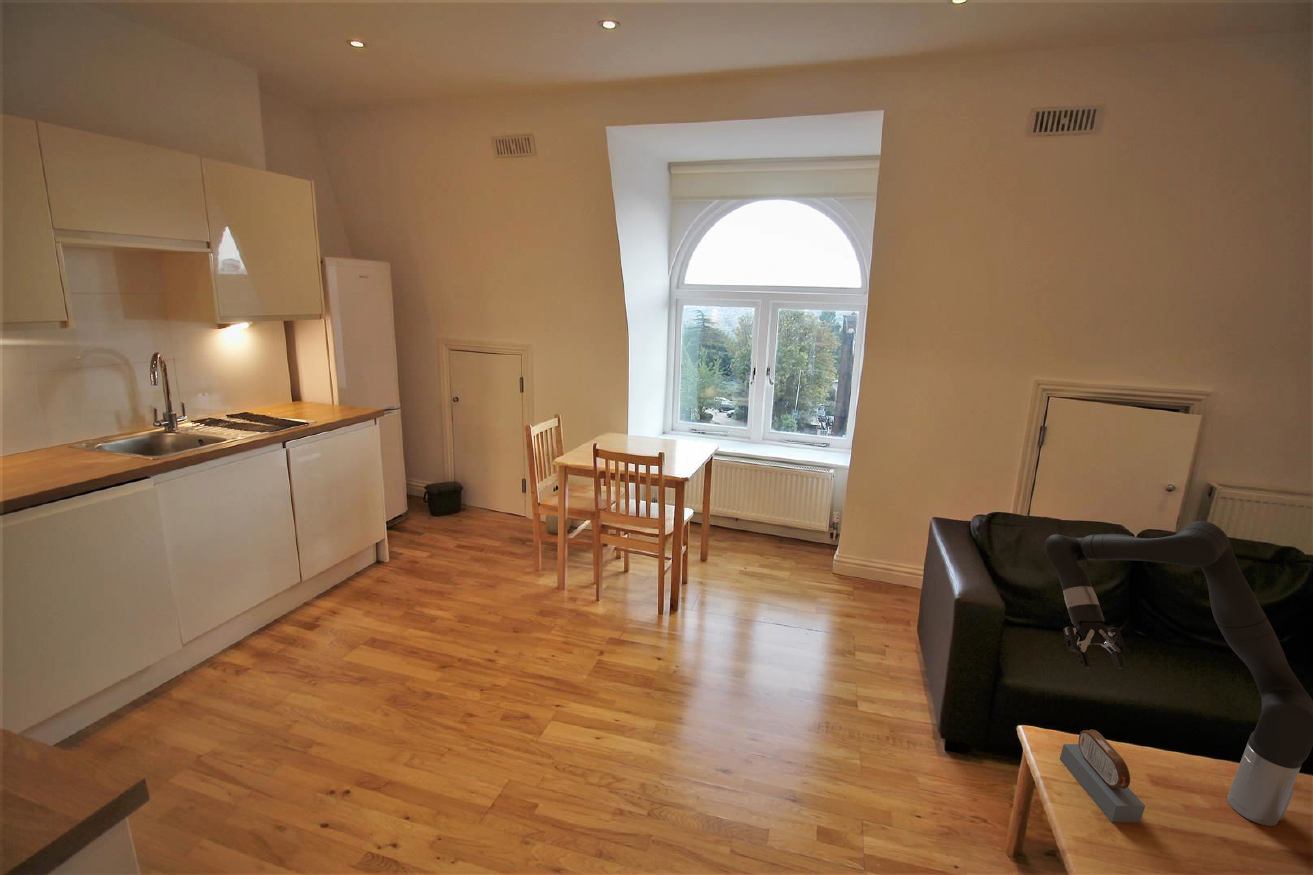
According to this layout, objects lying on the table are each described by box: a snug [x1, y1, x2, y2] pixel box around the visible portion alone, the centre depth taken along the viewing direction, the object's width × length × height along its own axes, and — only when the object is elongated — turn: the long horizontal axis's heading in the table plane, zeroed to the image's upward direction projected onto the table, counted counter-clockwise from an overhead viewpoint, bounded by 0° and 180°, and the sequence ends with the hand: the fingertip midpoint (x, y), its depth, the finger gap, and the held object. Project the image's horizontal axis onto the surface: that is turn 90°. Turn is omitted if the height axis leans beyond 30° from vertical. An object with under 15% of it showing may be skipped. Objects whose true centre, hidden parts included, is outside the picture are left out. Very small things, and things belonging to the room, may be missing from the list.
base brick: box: [1059, 743, 1146, 823], centre depth 154 cm, size 7×19×5 cm, turn 1°
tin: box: [1077, 729, 1131, 789], centre depth 152 cm, size 15×3×8 cm, turn 0°
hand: (1103, 668), depth 159 cm, fingers open, 8 cm apart
